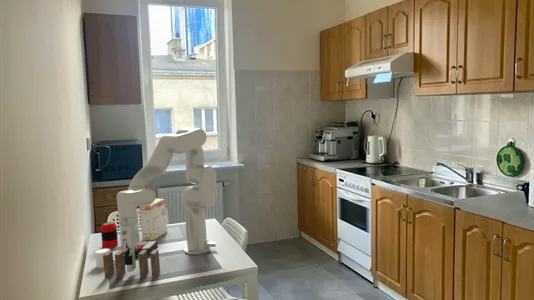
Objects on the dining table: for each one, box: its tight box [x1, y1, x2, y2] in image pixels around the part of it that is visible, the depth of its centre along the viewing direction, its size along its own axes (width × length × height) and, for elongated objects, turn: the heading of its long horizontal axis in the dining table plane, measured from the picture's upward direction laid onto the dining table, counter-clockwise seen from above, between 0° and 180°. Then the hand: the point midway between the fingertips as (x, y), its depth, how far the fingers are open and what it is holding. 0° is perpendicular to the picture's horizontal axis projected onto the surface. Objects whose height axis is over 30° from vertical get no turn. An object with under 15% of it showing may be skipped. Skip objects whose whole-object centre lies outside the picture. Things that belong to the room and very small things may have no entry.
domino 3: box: [126, 247, 137, 273], centre depth 175 cm, size 2×5×10 cm, turn 178°
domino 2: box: [114, 250, 127, 279], centre depth 176 cm, size 2×5×10 cm, turn 178°
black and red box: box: [120, 240, 159, 257], centre depth 205 cm, size 11×4×15 cm
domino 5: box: [149, 248, 161, 277], centre depth 175 cm, size 2×5×10 cm, turn 178°
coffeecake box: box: [139, 198, 168, 241], centre depth 229 cm, size 15×7×20 cm, turn 162°
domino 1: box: [103, 250, 115, 279], centre depth 176 cm, size 2×5×10 cm, turn 178°
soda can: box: [100, 221, 119, 249], centre depth 215 cm, size 8×8×12 cm
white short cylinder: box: [93, 248, 111, 269], centre depth 188 cm, size 7×7×7 cm
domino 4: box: [137, 250, 149, 278], centre depth 175 cm, size 2×5×10 cm, turn 178°
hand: (131, 261), depth 175 cm, fingers closed on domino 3, 4 cm apart
